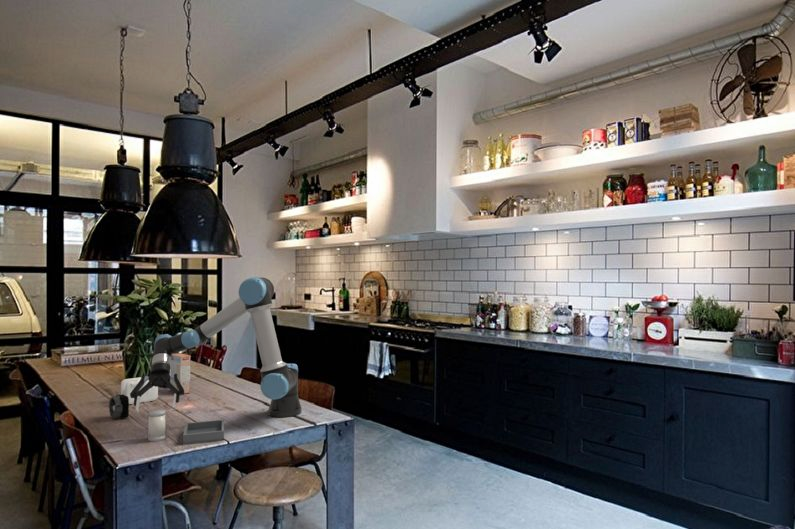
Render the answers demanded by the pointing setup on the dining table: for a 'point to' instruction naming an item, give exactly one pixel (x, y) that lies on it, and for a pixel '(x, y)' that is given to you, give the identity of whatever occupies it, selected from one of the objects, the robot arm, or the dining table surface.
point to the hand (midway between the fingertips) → (155, 410)
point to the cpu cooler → (119, 406)
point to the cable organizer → (148, 396)
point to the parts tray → (203, 432)
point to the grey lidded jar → (156, 425)
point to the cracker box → (181, 370)
